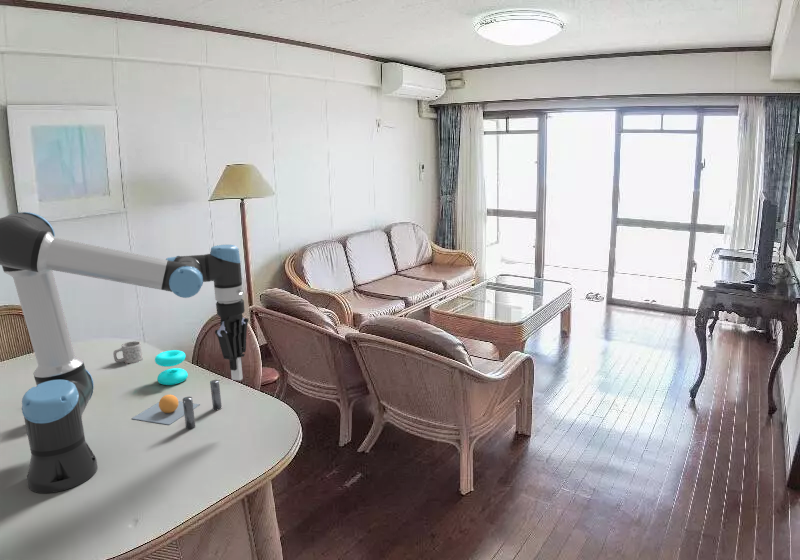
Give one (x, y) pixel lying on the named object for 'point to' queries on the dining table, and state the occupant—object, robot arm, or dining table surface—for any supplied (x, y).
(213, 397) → the far post
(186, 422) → the near post
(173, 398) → the ball
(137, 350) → the mug
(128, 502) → the dining table surface
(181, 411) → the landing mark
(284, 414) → the dining table surface
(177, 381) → the donuts
